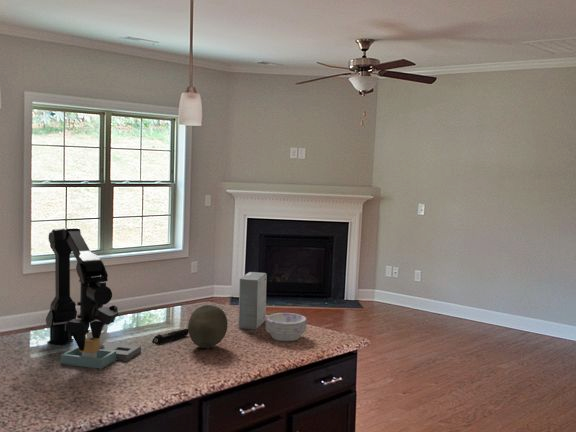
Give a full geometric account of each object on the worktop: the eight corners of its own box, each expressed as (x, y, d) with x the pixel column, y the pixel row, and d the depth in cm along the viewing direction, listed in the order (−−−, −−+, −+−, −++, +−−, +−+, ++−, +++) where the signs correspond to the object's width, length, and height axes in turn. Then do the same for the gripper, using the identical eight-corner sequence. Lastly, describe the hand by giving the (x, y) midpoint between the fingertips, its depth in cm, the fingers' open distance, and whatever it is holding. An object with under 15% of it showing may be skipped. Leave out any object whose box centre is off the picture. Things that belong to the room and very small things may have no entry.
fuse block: (76, 354, 204) (76, 348, 204) (92, 346, 214) (92, 340, 214) (126, 360, 200) (126, 354, 200) (140, 351, 210) (140, 346, 210)
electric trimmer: (191, 337, 231) (191, 329, 231) (158, 345, 219) (158, 336, 219) (184, 335, 233) (184, 327, 233) (151, 343, 221) (151, 334, 221)
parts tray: (61, 364, 195) (61, 354, 195) (76, 355, 204) (77, 346, 203) (101, 369, 192) (102, 359, 192) (116, 360, 201) (116, 351, 200)
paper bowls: (258, 340, 230) (259, 319, 229) (274, 330, 244) (275, 310, 243) (296, 346, 224) (297, 324, 223) (311, 336, 238) (312, 315, 237)
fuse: (86, 352, 207) (86, 331, 207) (90, 349, 210) (91, 329, 210) (99, 353, 206) (100, 333, 206) (104, 351, 209) (104, 330, 209)
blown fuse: (79, 361, 197) (80, 338, 196) (84, 358, 200) (85, 336, 199) (94, 362, 196) (94, 340, 195) (98, 359, 199) (99, 337, 198)
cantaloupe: (178, 347, 217) (179, 305, 215) (209, 339, 227) (211, 299, 226) (204, 357, 207) (205, 313, 206) (235, 349, 218) (237, 307, 216)
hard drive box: (247, 318, 259) (249, 271, 257) (265, 320, 258) (267, 272, 256) (237, 328, 244) (239, 278, 242) (256, 330, 243) (258, 279, 241)
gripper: (97, 307, 185) (97, 358, 187) (127, 294, 203) (126, 341, 205) (64, 303, 188) (63, 354, 189) (96, 291, 206) (95, 337, 207)
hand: (89, 346), depth 197 cm, fingers open, 8 cm apart
